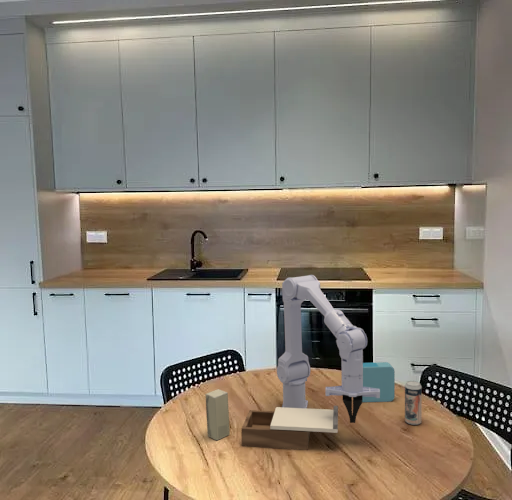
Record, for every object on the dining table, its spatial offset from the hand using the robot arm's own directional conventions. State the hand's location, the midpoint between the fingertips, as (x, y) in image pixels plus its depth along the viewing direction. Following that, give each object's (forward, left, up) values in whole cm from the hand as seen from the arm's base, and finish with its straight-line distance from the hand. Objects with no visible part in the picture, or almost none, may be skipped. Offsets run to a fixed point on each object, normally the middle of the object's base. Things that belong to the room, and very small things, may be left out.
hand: (352, 421), depth 133 cm
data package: (-30, +8, -6) cm, 32 cm away
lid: (0, -13, -1) cm, 13 cm away
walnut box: (0, -21, -6) cm, 22 cm away
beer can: (-14, +18, -6) cm, 24 cm away
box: (+1, -38, -6) cm, 38 cm away
